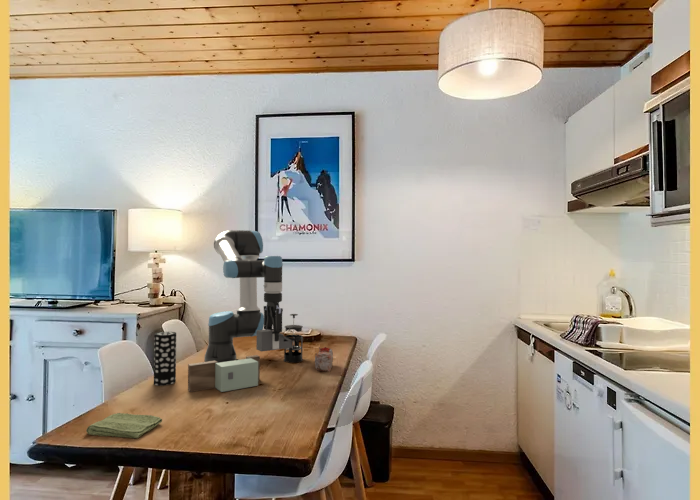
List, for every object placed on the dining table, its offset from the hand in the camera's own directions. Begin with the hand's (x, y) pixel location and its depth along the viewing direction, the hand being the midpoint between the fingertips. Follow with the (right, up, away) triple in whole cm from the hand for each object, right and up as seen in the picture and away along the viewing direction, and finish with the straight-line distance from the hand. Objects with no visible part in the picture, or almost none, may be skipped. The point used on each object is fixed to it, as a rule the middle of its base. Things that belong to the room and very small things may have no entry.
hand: (272, 347), depth 188 cm
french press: (+5, -14, +34) cm, 37 cm away
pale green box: (-12, -13, -11) cm, 21 cm away
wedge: (+1, -1, 0) cm, 1 cm away
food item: (+21, -14, +19) cm, 31 cm away
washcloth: (-35, -14, -53) cm, 65 cm away
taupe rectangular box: (-18, -13, -8) cm, 24 cm away
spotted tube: (-43, -13, -6) cm, 45 cm away
